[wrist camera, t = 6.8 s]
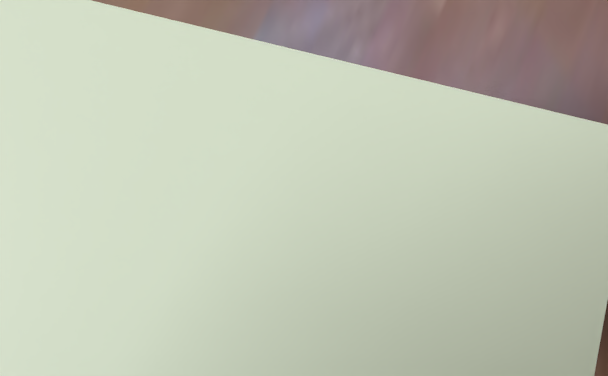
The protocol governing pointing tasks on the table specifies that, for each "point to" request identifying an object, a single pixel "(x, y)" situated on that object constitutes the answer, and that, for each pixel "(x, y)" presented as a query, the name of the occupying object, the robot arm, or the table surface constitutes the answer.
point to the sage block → (281, 211)
